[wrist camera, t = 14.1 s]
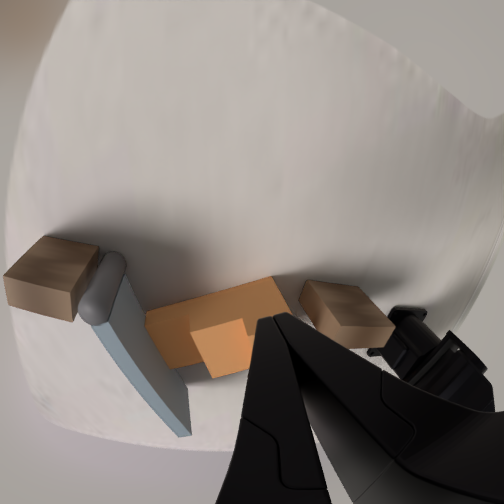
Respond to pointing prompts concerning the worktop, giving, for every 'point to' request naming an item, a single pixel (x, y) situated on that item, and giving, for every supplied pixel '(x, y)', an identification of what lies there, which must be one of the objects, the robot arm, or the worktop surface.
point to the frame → (86, 263)
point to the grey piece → (133, 343)
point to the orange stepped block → (214, 326)
